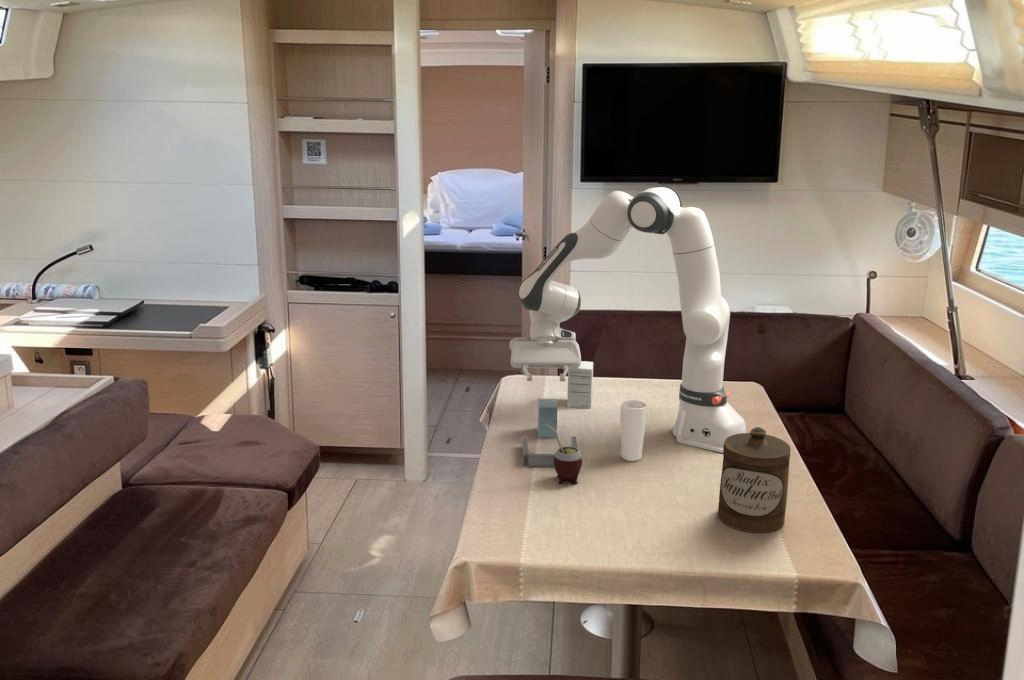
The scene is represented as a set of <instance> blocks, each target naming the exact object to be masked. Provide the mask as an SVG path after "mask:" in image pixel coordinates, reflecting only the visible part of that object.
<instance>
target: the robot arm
mask: <svg viewBox="0 0 1024 680" xmlns="http://www.w3.org/2000/svg"><path fill="white" fill-rule="evenodd" d="M632 228H634V229H635V230H637V231H639V232H642V233H649V234H656V235H665V234H667V236H668V238H669V240H670V244H671V250H672V255H673V261H674V265H675V271H676V276H677V282H678V292H679V301H680V302H679V303H680V311H681V319H682V329H683V332H684V335H685V337H686V339H685V347H684V354H683V360H682V374H681V375H682V376H681V383H680V385H679V391H678V392H679V394H678V398H679V399H678V400H679V404H678V405H679V406H678V411H677V416H676V420H675V423H674V425H673V428H672V434H673V435H674V437H676V442H677V443H679V444H683V445H687V446H691V447H695V448H699V449H705V450H709V451H713V452H717V453H721V454H723V447H724V441H725V439H726V438H728V437H729V436H732V435H735V434H740V433H747V424H746V421H745V419H744V418H743V417H742V416H741V415H740V414H739V413H738V412H737V411H736V410H735V409H734V408H733V407H732V406H731V405H730V403H729V402H728V398H729V397H731V395H730V394H731V392H727V393H726V392H725V390H724V386H723V383H724V381H723V380H724V370H725V369H724V368H725V358H726V351H727V343H728V336H729V335H728V334H729V326H730V319H731V310H730V306H729V304H728V302H727V299H725V298H724V297H723V295H722V290H721V289H722V287H721V278H720V277H721V276H720V275H721V274H720V267H719V263H718V258H717V252H716V247H715V243H714V242H715V241H714V236H713V232H712V229H711V227H710V223H709V221H708V218H707V216H706V213H705V212H704V211H703V210H702V209H700V208H698V207H694V206H687V207H683V201H682V197H681V195H680V194H679V192H678V191H677V190H676V189H674V188H673V187H671V186H668V185H659V186H653V187H649V188H647V189H645V190H643V191H642V192H640V193H638V194H636V195H635V196H632V195H631V194H629V193H627V192H625V191H621V190H615V191H612V192H610V193H609V194H607V196H606V197H605V198H604V199H603V200H602V201H601V202H600V204H599V205H598V206H597V207H596V208H595V209H594V212H593V213H592V214H591V216H590V218H589V219H588V220H587V222H585V224H583V225H582V227H580V228H579V229H578V230H575V231H574V232H571V233H568V234H566V235H565V236H564V237H563V238H562V239H561V240H559V242H558V243H557V244H556V245H555V247H554V248H553V249H552V250H551V251H550V252H549V253H548V255H546V257H545V259H543V261H542V262H541V263H540V264H539V266H537V267H536V269H535V270H534V271H533V272H532V273H530V274H529V275H528V276H527V277H526V278H524V280H523V281H522V283H521V284H520V285H519V288H518V293H517V294H518V299H519V301H520V303H521V305H522V306H523V308H524V309H526V310H527V311H529V318H530V327H529V337H526V336H525V337H524V336H523V337H520V336H519V337H518V336H517V337H514V338H513V339H512V338H511V340H510V341H509V350H510V351H511V353H510V354H511V355H510V366H511V367H512V369H513V368H514V369H522V373H524V375H525V376H526V382H533V373H530V372H529V369H563V373H559V382H564V383H565V382H566V376H567V375H568V371H569V369H577V368H579V366H580V365H581V361H582V355H581V350H580V346H579V344H578V342H577V341H576V339H577V338H576V332H574V331H572V330H567V329H564V328H562V327H561V326H560V324H561V323H563V322H567V321H568V320H570V319H572V318H573V317H575V316H576V315H577V314H579V312H580V309H581V305H582V301H581V294H580V292H579V290H578V289H577V288H576V287H573V286H571V285H567V284H565V283H561V282H558V281H554V278H555V277H556V276H557V275H558V274H559V273H560V271H561V270H562V269H563V268H564V267H565V265H567V264H568V263H571V262H573V261H576V260H577V261H578V260H588V259H589V260H591V259H593V260H597V259H599V260H600V259H604V258H608V257H610V256H612V255H613V254H615V252H616V251H617V250H618V249H619V248H620V246H621V244H622V243H623V241H624V240H625V239H626V237H627V235H628V234H629V232H630V231H631V229H632Z"/></svg>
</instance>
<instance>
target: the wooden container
mask: <svg viewBox="0 0 1024 680" xmlns="http://www.w3.org/2000/svg"><path fill="white" fill-rule="evenodd" d="M722 455H723V457H722V466H721V475H720V476H721V477H720V482H719V483H720V484H719V494H718V505H717V507H718V509H717V515H718V518H719V519H720V521H721V522H722V521H723V522H722V523H723V524H725V523H726V524H725V525H727V526H728V525H730V526H733V527H735V528H738V529H741V530H740V531H742V530H745V531H744V532H747V531H751V532H750V533H756V532H762V533H770V532H769V531H771V532H774V531H777V530H779V529H781V528H782V527H783V526H784V524H785V518H786V509H787V500H788V499H787V498H788V488H789V475H790V473H789V472H790V459H791V446H790V445H789V443H788V442H786V441H784V440H783V439H781V438H779V437H776V436H773V435H770V434H767V431H766V430H765V429H763V428H762V427H759V426H756V427H754V428H752V429H751V430H750V432H746V433H740V434H735V435H732V436H729V437H728V438H726V439H725V441H724V447H723V453H722ZM730 526H729V527H730ZM733 527H732V528H733ZM780 527H781V528H780ZM735 528H734V529H735ZM738 529H737V530H738ZM773 530H774V531H773Z"/></svg>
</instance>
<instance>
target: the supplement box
mask: <svg viewBox="0 0 1024 680" xmlns="http://www.w3.org/2000/svg"><path fill="white" fill-rule="evenodd" d="M593 377H594V362H593V361H586V360H584V361H583V360H581V365H580V366H579V368H577V369H569V371H568V373H567V394H566V395H567V398H566V400H567V401H566V402H567V404H566V407H568V408H574V409H575V408H576V409H592V404H593V386H594V385H593V380H594V378H593Z"/></svg>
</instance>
